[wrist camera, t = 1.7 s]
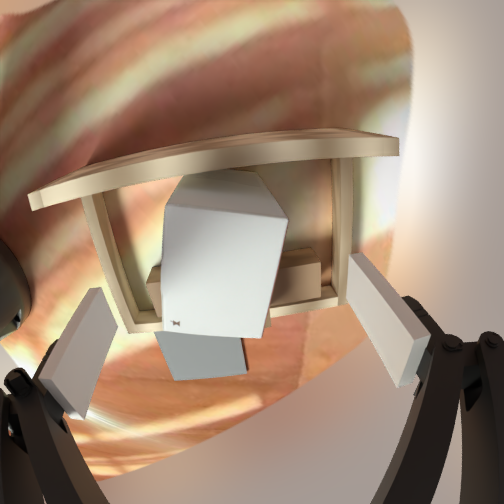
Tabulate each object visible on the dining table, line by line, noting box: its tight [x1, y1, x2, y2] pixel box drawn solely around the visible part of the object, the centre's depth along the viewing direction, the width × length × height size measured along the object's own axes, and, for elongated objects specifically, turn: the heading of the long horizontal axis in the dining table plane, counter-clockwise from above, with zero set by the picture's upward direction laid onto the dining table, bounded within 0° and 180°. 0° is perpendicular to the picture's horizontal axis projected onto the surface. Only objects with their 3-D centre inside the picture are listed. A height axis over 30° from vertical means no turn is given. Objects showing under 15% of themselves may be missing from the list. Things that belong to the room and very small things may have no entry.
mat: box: [154, 331, 247, 381], centre depth 35 cm, size 10×10×1 cm
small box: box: [161, 169, 289, 338], centre depth 21 cm, size 8×6×13 cm
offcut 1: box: [146, 266, 162, 317], centre depth 29 cm, size 7×4×4 cm, turn 97°
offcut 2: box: [270, 247, 321, 306], centre depth 29 cm, size 7×4×4 cm, turn 97°
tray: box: [28, 128, 399, 334], centre depth 24 cm, size 24×18×10 cm
